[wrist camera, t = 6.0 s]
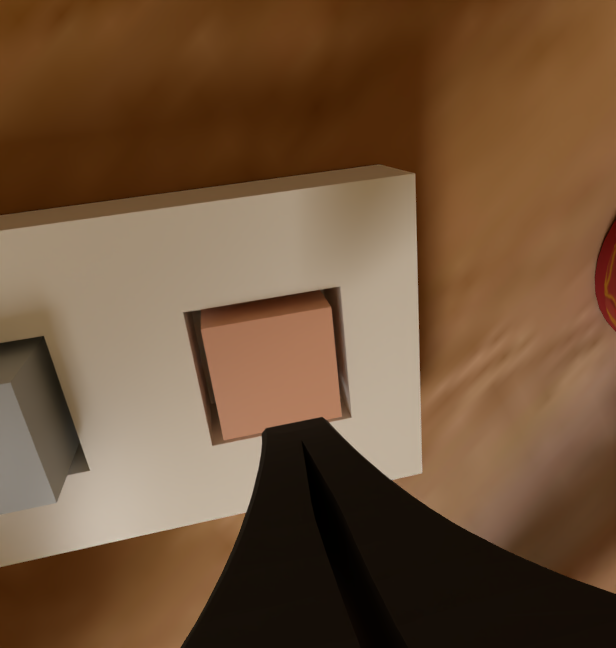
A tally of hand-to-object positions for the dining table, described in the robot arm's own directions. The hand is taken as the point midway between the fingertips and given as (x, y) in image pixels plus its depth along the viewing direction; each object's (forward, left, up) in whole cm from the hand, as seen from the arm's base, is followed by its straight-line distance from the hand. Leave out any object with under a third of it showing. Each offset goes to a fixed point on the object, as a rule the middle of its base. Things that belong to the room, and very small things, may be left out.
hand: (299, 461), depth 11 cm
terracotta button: (0, 0, -7) cm, 7 cm away
